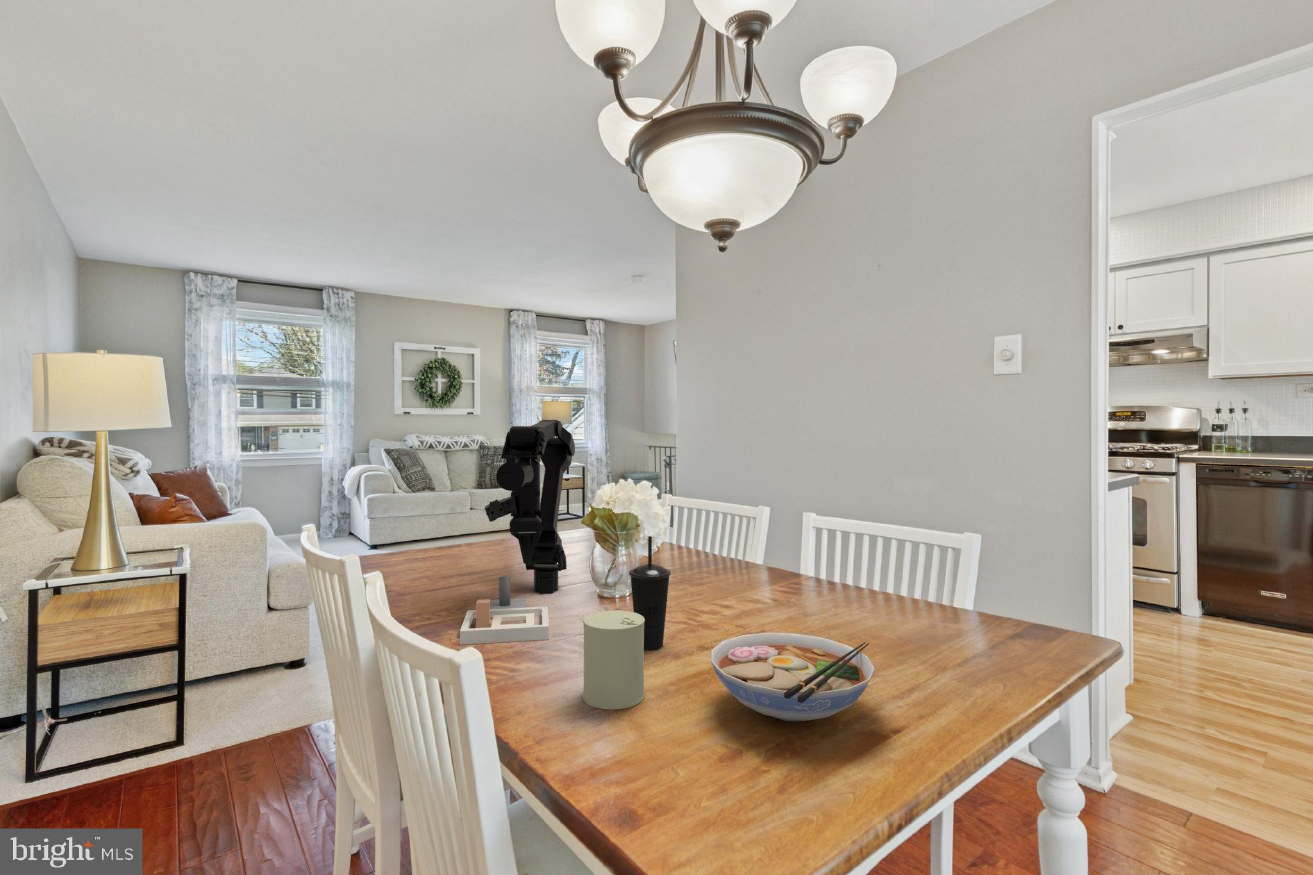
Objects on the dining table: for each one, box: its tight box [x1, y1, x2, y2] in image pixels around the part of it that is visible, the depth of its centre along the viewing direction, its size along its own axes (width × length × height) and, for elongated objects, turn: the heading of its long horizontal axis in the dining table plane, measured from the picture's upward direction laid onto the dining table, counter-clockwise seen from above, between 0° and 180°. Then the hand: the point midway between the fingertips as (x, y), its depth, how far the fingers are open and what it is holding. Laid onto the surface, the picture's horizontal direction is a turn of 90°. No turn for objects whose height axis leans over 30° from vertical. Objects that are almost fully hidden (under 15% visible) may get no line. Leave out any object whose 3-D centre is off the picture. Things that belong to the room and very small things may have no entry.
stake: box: [490, 575, 527, 609], centre depth 136 cm, size 9×9×7 cm
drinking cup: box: [628, 535, 672, 651], centre depth 115 cm, size 8×8×20 cm
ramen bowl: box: [710, 631, 876, 722], centre depth 89 cm, size 25×23×8 cm
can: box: [582, 609, 646, 711], centre depth 94 cm, size 9×9×12 cm
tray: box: [459, 606, 550, 646], centre depth 123 cm, size 13×16×2 cm
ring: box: [475, 598, 535, 628], centre depth 123 cm, size 8×11×5 cm
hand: (526, 558), depth 134 cm, fingers open, 9 cm apart
